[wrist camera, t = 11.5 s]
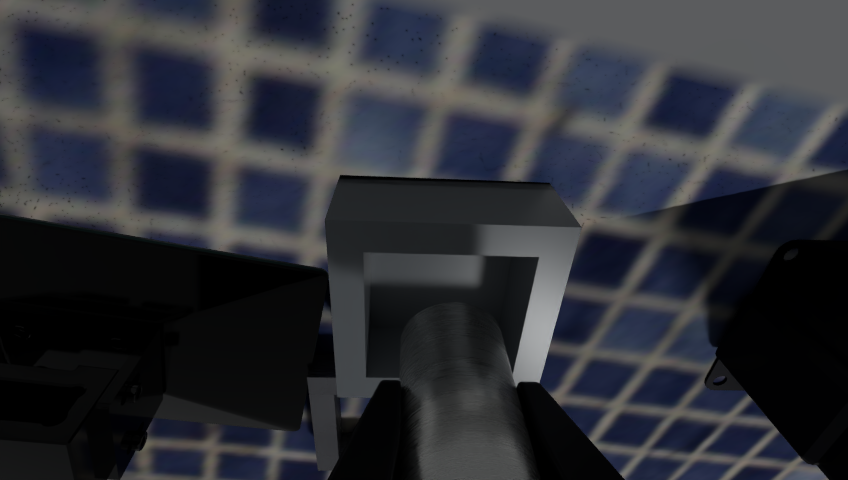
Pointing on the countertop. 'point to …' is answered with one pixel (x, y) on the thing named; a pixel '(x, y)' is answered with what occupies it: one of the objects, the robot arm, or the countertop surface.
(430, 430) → the pin
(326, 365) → the pin socket
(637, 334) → the countertop surface
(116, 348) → the build plate
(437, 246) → the tray
